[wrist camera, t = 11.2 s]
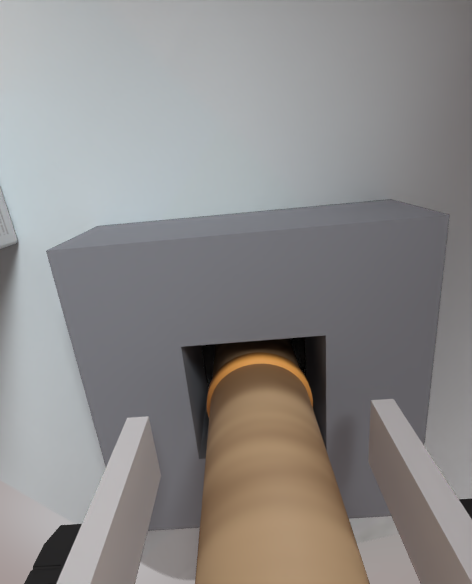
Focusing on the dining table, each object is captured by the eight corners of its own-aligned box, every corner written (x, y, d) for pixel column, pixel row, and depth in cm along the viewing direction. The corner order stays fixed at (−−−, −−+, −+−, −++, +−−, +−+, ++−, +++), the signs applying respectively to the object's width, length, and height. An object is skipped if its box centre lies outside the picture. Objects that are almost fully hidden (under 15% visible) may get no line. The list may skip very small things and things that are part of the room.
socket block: (97, 226, 17) (46, 250, 13) (391, 199, 17) (449, 214, 12) (147, 453, 22) (123, 532, 18) (378, 437, 22) (416, 514, 17)
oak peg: (208, 310, 19) (156, 656, 6) (290, 303, 19) (426, 637, 6) (217, 380, 20) (192, 781, 7) (293, 374, 20) (407, 768, 7)
